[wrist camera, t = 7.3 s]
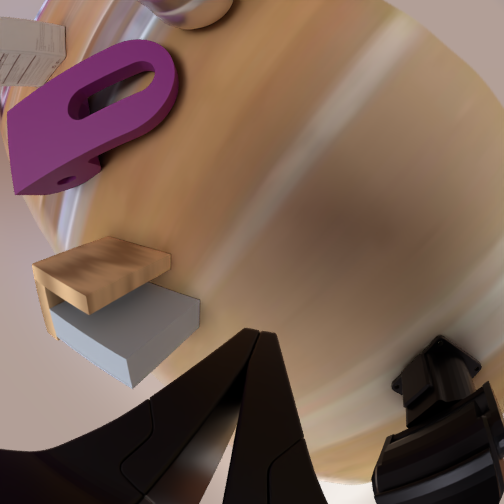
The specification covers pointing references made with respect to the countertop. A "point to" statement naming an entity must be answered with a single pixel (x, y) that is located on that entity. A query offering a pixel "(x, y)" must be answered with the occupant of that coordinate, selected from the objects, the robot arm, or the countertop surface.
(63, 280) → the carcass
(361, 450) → the countertop surface
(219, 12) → the plastic bottle
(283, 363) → the robot arm
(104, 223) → the countertop surface
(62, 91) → the mounting bracket
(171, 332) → the pale grey oblong block
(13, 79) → the supplement box
